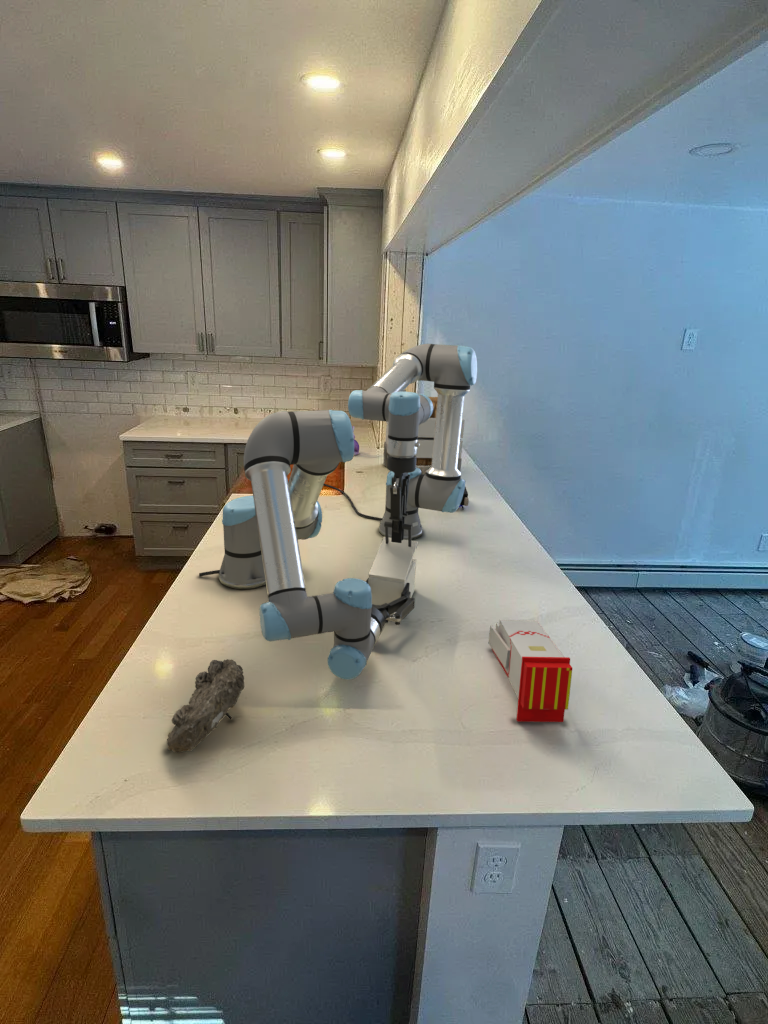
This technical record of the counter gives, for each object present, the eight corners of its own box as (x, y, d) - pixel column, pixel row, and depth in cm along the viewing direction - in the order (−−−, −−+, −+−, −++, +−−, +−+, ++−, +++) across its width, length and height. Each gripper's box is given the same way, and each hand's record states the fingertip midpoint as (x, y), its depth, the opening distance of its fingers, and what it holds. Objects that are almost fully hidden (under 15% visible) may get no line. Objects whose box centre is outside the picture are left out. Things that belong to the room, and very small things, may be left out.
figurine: (347, 456, 298) (347, 428, 293) (339, 452, 307) (339, 424, 302) (363, 455, 303) (364, 427, 298) (355, 450, 311) (356, 423, 306)
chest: (381, 585, 162) (383, 554, 159) (414, 590, 160) (416, 559, 157) (367, 611, 148) (368, 578, 145) (402, 617, 146) (404, 583, 143)
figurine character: (468, 514, 225) (463, 498, 239) (470, 497, 222) (465, 482, 235) (451, 514, 225) (447, 498, 238) (453, 497, 222) (449, 481, 235)
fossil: (192, 660, 117) (244, 628, 112) (224, 691, 120) (276, 661, 115) (142, 746, 98) (202, 712, 93) (182, 779, 101) (242, 748, 96)
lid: (383, 539, 157) (383, 515, 152) (417, 544, 155) (417, 520, 150) (368, 577, 145) (367, 552, 140) (404, 583, 143) (404, 558, 138)
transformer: (382, 463, 289) (386, 382, 275) (445, 464, 293) (451, 384, 279) (390, 482, 257) (394, 392, 243) (460, 483, 261) (468, 394, 247)
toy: (535, 605, 135) (581, 664, 106) (530, 657, 138) (574, 728, 108) (484, 604, 135) (517, 662, 105) (480, 656, 137) (511, 727, 108)
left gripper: (318, 634, 131) (347, 590, 151) (412, 651, 126) (429, 604, 146) (318, 605, 128) (348, 565, 149) (414, 621, 123) (431, 577, 144)
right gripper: (410, 463, 136) (405, 553, 144) (421, 449, 149) (416, 532, 157) (380, 460, 137) (376, 549, 146) (394, 446, 151) (390, 529, 159)
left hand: (388, 584), depth 147 cm, fingers closed on chest, 9 cm apart
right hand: (397, 540), depth 151 cm, fingers closed on lid, 1 cm apart
